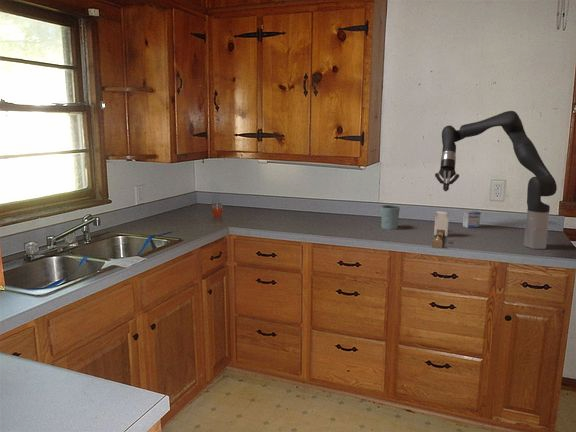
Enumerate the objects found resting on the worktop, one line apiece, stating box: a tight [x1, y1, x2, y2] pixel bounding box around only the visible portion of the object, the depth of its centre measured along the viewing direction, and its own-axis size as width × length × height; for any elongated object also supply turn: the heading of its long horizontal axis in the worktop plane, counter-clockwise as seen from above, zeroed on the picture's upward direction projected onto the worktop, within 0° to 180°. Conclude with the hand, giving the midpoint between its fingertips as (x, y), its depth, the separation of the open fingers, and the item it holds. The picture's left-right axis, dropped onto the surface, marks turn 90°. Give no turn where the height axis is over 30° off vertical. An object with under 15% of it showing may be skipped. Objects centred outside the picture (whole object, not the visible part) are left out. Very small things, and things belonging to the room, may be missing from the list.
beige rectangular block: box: [433, 211, 450, 237], centre depth 258 cm, size 5×6×12 cm
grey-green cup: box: [380, 204, 401, 231], centre depth 274 cm, size 10×10×12 cm
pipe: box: [431, 229, 454, 249], centre depth 251 cm, size 38×9×3 cm, turn 160°
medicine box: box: [462, 210, 482, 229], centre depth 278 cm, size 8×4×9 cm, turn 105°
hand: (445, 190), depth 266 cm, fingers closed
